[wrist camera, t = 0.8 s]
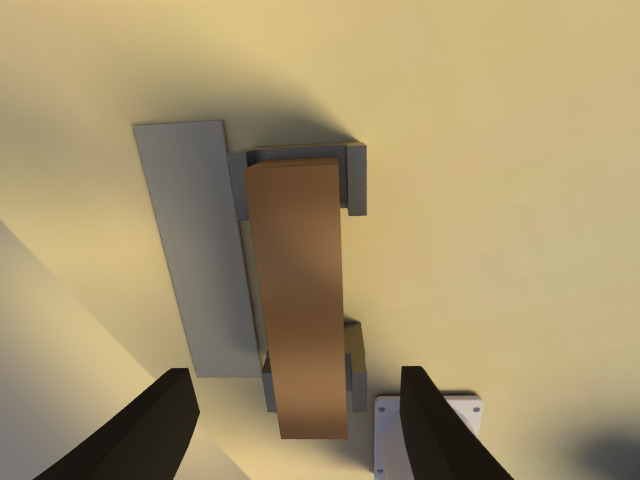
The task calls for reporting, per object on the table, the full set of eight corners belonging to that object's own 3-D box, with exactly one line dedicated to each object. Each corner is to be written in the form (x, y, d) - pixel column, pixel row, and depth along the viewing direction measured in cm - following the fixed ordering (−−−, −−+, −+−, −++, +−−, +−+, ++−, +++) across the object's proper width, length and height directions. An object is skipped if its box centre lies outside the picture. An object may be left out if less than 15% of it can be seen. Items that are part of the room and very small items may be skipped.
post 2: (361, 357, 22) (367, 412, 17) (279, 358, 22) (266, 412, 18) (360, 322, 21) (367, 372, 16) (275, 324, 21) (260, 373, 17)
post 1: (359, 194, 17) (367, 215, 13) (259, 199, 18) (236, 220, 14) (359, 141, 16) (367, 145, 12) (252, 147, 17) (225, 153, 13)
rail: (345, 385, 19) (347, 439, 15) (290, 385, 19) (281, 438, 16) (337, 156, 14) (338, 164, 11) (263, 160, 14) (242, 169, 11)
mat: (262, 373, 23) (261, 377, 22) (198, 374, 23) (197, 377, 23) (222, 120, 16) (220, 120, 16) (136, 125, 17) (132, 125, 16)
